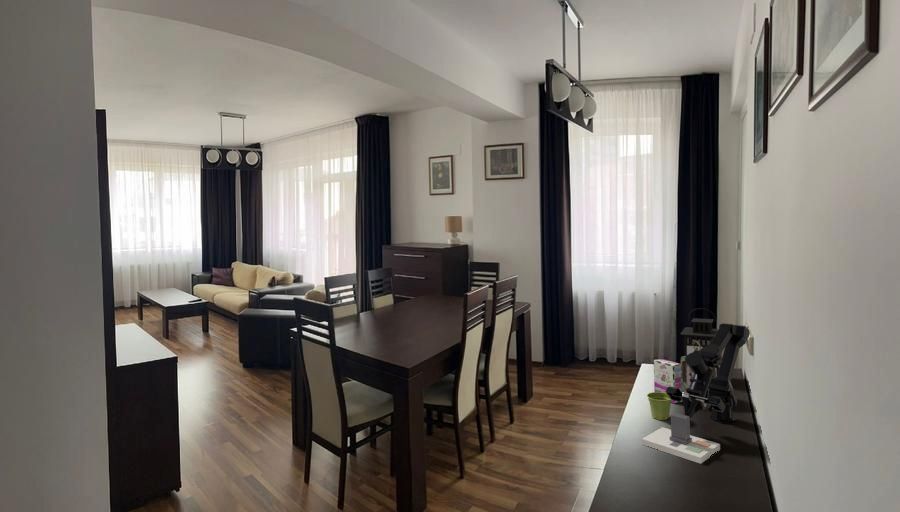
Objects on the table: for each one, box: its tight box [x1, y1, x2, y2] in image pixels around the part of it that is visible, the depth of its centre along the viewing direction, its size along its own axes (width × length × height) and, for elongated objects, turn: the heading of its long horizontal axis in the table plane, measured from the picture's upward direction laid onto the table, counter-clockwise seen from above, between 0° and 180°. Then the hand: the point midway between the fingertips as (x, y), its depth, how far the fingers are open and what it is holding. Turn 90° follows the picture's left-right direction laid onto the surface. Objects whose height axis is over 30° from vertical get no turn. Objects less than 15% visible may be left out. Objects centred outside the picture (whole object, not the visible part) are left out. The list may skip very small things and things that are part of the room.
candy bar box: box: [653, 358, 683, 404], centre depth 214 cm, size 11×5×16 cm, turn 23°
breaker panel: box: [641, 426, 721, 465], centre depth 169 cm, size 14×20×2 cm
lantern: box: [680, 307, 723, 377], centre depth 236 cm, size 17×17×35 cm
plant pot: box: [646, 391, 672, 421], centre depth 194 cm, size 9×9×9 cm
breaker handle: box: [670, 412, 692, 445], centre depth 169 cm, size 4×6×8 cm
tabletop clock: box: [679, 341, 716, 393], centre depth 212 cm, size 14×9×25 cm, turn 178°
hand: (686, 420), depth 172 cm, fingers closed
